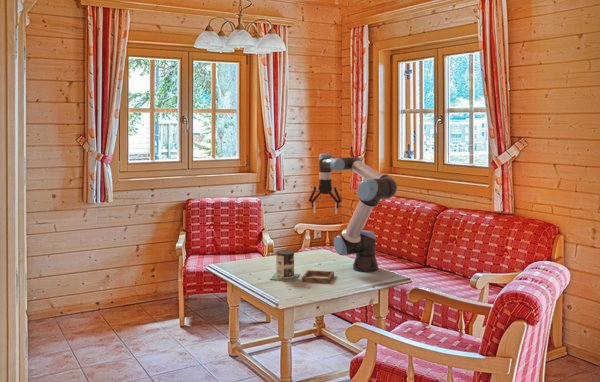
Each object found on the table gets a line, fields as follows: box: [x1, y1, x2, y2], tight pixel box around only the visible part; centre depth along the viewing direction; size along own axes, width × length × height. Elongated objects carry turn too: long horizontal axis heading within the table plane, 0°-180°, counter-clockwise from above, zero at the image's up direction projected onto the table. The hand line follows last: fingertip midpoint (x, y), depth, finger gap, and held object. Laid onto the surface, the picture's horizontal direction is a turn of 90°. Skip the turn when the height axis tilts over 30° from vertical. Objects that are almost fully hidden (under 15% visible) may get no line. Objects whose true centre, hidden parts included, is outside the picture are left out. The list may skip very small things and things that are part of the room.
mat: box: [269, 272, 301, 282], centre depth 335 cm, size 14×14×1 cm
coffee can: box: [275, 249, 295, 279], centre depth 334 cm, size 10×10×14 cm
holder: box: [301, 269, 335, 284], centre depth 332 cm, size 15×15×2 cm
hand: (325, 213), depth 362 cm, fingers open, 13 cm apart
